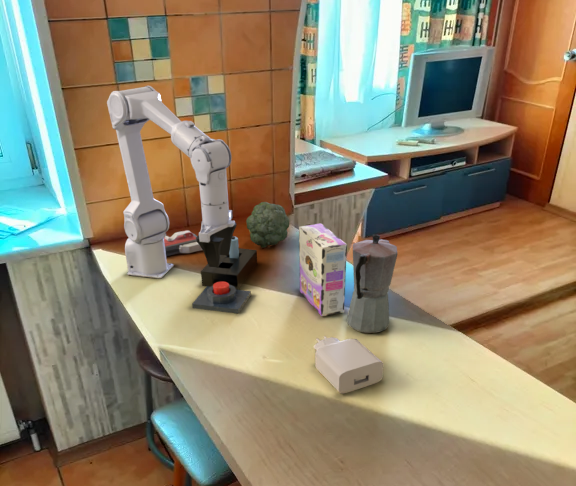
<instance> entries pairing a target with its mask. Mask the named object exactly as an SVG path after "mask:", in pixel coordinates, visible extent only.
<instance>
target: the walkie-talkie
mask: <svg viewBox="0 0 576 486" xmlns="http://www.w3.org/2000/svg"><path fill="white" fill-rule="evenodd" d="M197 236H198V235H197V234H195V233H193V232H192V231H190V230H189V229H185V230H182V231H181V230H180V231H176V232H174V233H173V234H172V235H171V236H169V235H166V236H165V237H164V244H165V252H166V257H170V256H174V255H178V254H192V253H197V252H202V251H203V250H202V248H201V247H200V245H199V244H198V243H197V241H196V237H197Z"/></svg>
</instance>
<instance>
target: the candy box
mask: <svg viewBox="0 0 576 486" xmlns="http://www.w3.org/2000/svg"><path fill="white" fill-rule="evenodd" d="M298 251H299V252H298V255H299V256H298V257H299V260H298V261H299V262H298V263H299V264H298V265H299V292H300V293H301V295H302V296H303V297H304V298H305V299H306V300H307V302H309V304H310V305H311V306H312V307H313V308H314V309H315V311H316V312H317V313H318V314H319V315H320V317H325V316H326V317H327V316H331V315H336V314H341V313H345V302H346V301H345V300H346V299H345V298H346V297H345V296H346V277H347V275H346V274H347V273H346V272H347V256H348V255H347V252H348V244H347V243H346V242H345V241H343V240H342V239H341V238H340V237H339V236H337V235H336V234H335V233H334V232H333V231H331V230H330V229H329V228H328V227H326V226H325V225H324V224H323V223H314V224H306V225H301V226H299V227H298Z"/></svg>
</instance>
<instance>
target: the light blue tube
mask: <svg viewBox="0 0 576 486" xmlns="http://www.w3.org/2000/svg"><path fill="white" fill-rule="evenodd" d="M229 256H230V258H237V259H238V258H239V238H238V237H237V236H235V235H233V236H232V240H231V246H230V252H229Z"/></svg>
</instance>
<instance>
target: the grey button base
mask: <svg viewBox="0 0 576 486" xmlns="http://www.w3.org/2000/svg"><path fill="white" fill-rule="evenodd" d="M251 297H252V291H251V290H243V289H238V290H236V288H235V287H234V286H232V285H229V293H227V294H223V295H218V294H214V290H213V286H211V287H209V286H207V287H206V286H205V288H204V289H203V290H202V291H201V293H200V294H199V295H198V296H197V297H196V299H195V300H194V301H193V302H192V305H191V307H192V309H197V310H204V311H205V310H206V311H213V312H220V313H221V312H222V313H229V314H240V313H241V311H242V309H243V308H244V307H245V305H246V304H247V303H248V301H249V300H250V298H251Z"/></svg>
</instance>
